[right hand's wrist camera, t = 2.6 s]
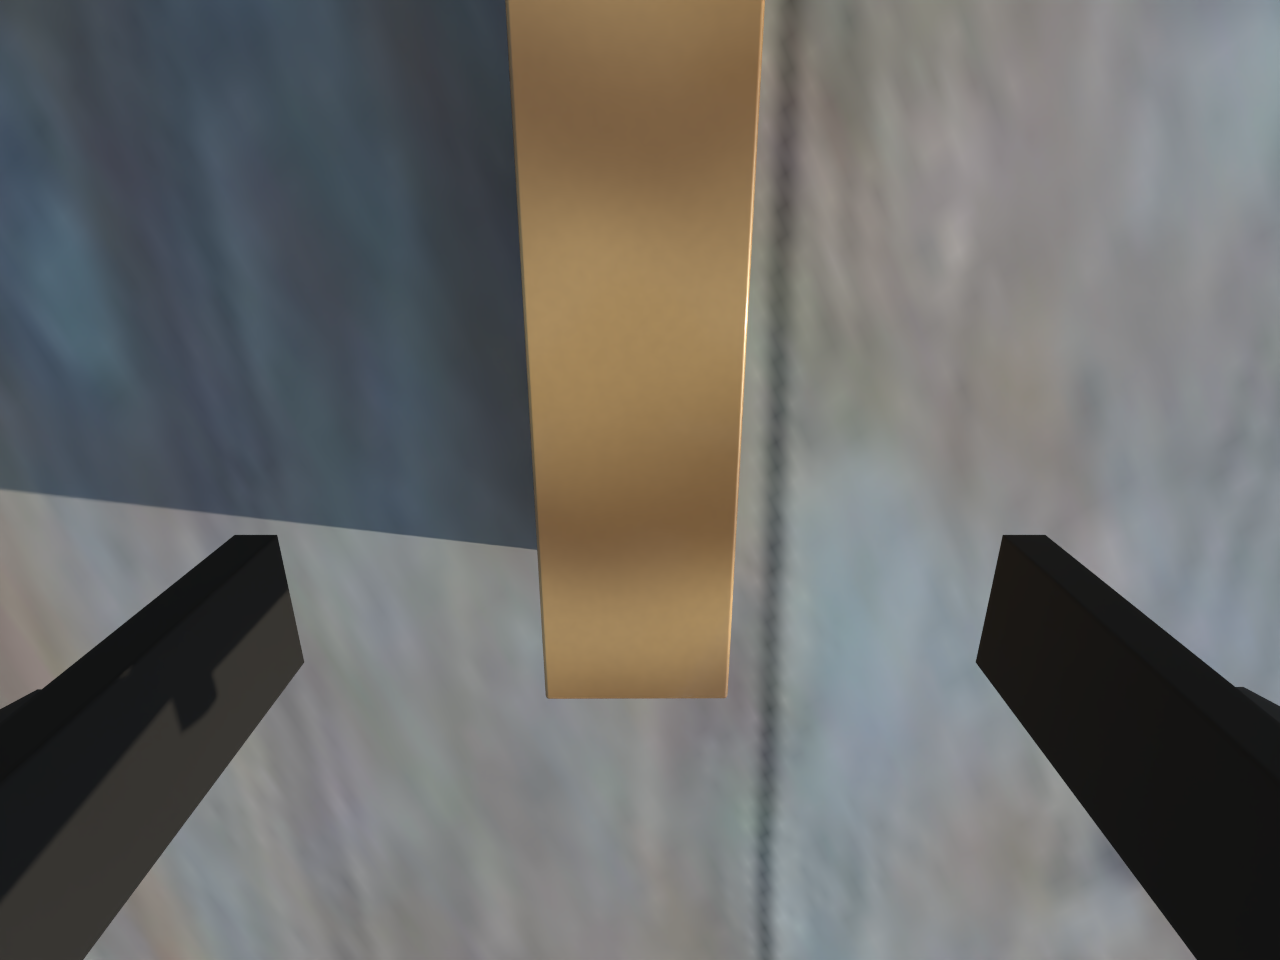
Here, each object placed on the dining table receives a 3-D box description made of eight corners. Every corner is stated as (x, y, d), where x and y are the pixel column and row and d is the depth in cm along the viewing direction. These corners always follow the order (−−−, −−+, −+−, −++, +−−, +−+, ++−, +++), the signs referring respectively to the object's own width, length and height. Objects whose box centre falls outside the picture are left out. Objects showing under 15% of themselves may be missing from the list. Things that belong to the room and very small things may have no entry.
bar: (700, 554, 25) (727, 699, 17) (573, 554, 25) (545, 700, 17) (734, -463, 16) (824, -1093, 8) (534, -464, 16) (439, -1096, 8)
